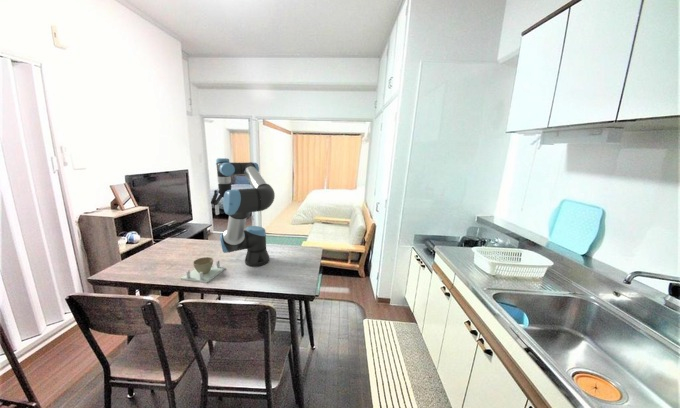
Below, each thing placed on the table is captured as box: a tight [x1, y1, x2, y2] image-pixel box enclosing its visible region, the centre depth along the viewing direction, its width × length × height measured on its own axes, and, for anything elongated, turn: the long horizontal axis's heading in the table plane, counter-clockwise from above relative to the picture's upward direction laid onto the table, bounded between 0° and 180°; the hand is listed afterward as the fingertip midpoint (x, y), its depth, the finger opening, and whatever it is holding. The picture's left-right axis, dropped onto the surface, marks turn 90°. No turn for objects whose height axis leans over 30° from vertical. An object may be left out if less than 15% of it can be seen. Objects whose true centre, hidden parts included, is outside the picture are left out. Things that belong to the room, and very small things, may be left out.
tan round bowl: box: [192, 256, 214, 274], centre depth 136 cm, size 10×10×7 cm
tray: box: [180, 260, 226, 284], centre depth 137 cm, size 16×16×5 cm
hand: (227, 215), depth 155 cm, fingers open, 13 cm apart
